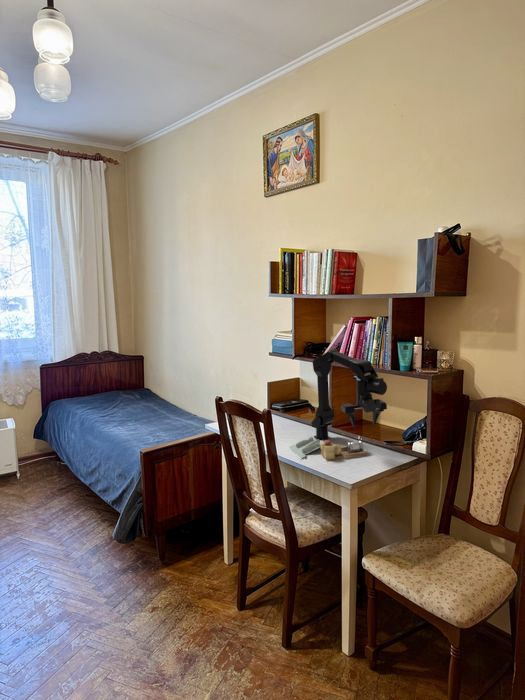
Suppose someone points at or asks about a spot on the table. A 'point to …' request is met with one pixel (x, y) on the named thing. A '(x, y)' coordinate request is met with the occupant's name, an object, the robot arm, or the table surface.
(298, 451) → the metal bracket
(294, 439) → the table surface
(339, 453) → the wooden channel tray
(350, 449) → the cylinder
